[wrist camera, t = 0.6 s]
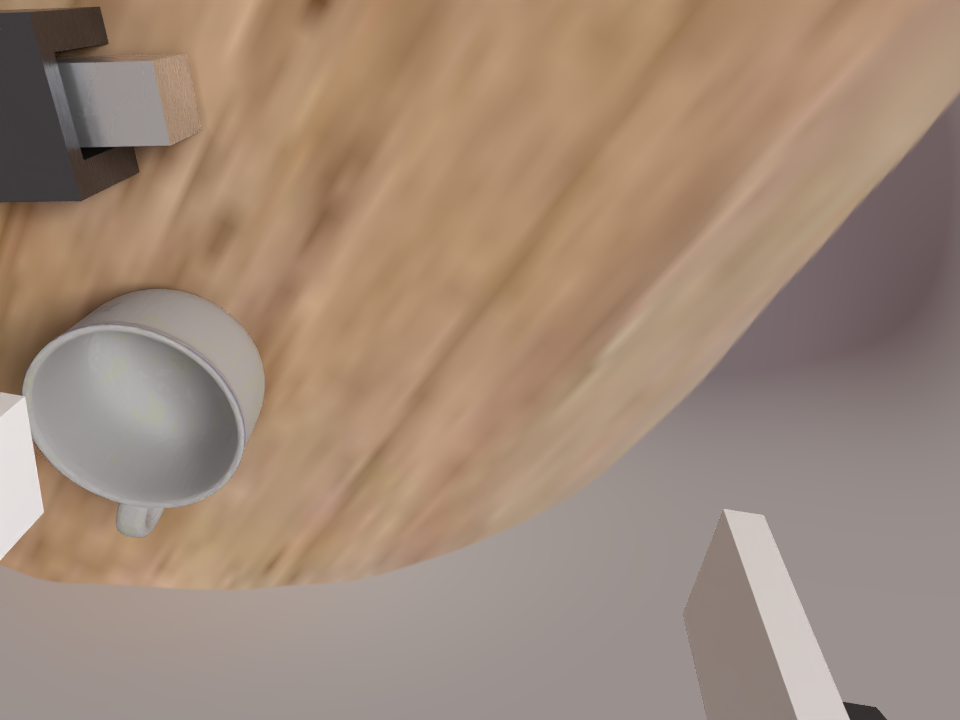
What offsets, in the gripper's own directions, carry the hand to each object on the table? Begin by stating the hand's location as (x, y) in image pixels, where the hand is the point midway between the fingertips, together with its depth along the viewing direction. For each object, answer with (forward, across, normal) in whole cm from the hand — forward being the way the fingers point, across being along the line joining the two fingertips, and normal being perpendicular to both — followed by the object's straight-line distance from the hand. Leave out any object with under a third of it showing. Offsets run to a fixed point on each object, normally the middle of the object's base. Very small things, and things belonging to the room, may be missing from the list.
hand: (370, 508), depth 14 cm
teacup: (+27, -15, -15) cm, 34 cm away
